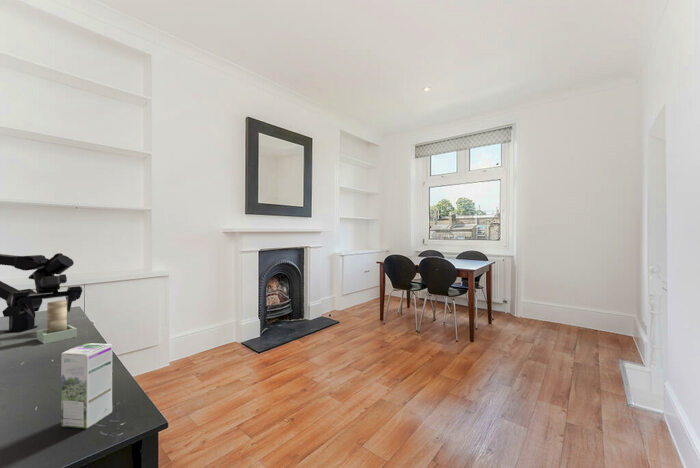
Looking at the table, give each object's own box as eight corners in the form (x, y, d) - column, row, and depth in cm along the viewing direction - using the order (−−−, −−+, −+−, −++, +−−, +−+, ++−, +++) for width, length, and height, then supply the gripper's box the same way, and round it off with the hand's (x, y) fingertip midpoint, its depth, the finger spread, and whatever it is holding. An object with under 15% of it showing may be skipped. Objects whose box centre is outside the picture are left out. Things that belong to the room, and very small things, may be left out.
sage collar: (37, 339, 105) (37, 330, 105) (69, 332, 112) (69, 324, 112) (43, 343, 100) (43, 335, 101) (76, 336, 108) (77, 328, 108)
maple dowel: (43, 340, 104) (43, 303, 104) (56, 335, 109) (56, 300, 109) (57, 340, 104) (57, 303, 104) (70, 335, 109) (70, 300, 109)
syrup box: (113, 411, 61) (114, 342, 62) (85, 430, 56) (86, 353, 56) (88, 410, 62) (90, 341, 62) (58, 428, 56) (59, 352, 56)
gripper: (12, 270, 105) (18, 305, 99) (81, 266, 120) (90, 296, 114) (8, 289, 109) (13, 324, 103) (75, 283, 125) (83, 313, 118)
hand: (52, 313), depth 109 cm, fingers open, 9 cm apart
